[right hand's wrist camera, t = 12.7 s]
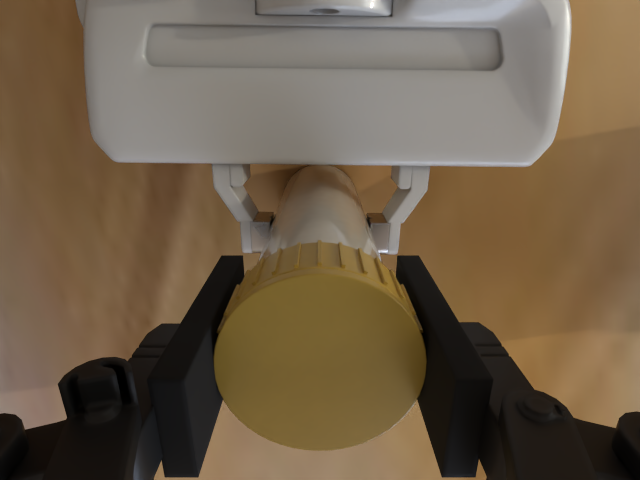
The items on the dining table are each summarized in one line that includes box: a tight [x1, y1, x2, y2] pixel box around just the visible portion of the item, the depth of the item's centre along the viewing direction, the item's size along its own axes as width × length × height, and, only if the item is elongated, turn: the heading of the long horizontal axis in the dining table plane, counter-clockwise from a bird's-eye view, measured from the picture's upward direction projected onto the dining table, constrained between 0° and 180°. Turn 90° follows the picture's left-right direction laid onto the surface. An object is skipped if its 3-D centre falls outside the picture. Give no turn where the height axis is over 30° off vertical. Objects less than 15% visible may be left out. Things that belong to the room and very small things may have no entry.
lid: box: [213, 240, 427, 451], centre depth 11 cm, size 6×6×2 cm
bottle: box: [257, 165, 383, 264], centre depth 19 cm, size 5×5×17 cm
